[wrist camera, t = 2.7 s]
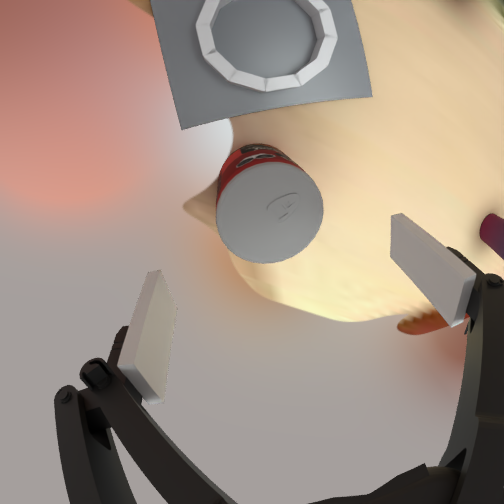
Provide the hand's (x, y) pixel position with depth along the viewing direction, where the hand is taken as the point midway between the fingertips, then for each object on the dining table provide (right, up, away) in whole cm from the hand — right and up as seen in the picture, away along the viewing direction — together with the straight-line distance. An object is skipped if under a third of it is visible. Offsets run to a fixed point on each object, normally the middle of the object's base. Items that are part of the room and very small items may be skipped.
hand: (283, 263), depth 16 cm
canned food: (-1, +8, +15) cm, 17 cm away
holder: (0, +22, +7) cm, 23 cm away
